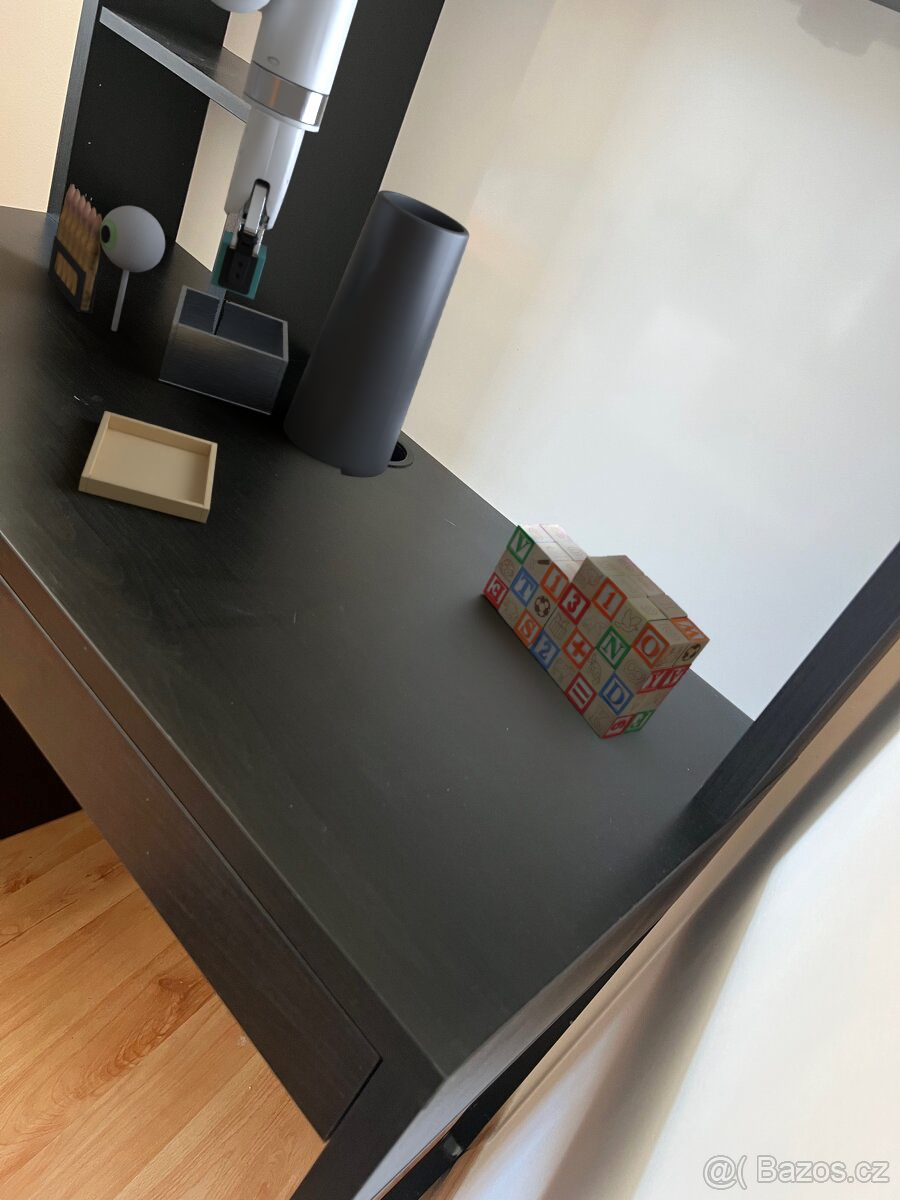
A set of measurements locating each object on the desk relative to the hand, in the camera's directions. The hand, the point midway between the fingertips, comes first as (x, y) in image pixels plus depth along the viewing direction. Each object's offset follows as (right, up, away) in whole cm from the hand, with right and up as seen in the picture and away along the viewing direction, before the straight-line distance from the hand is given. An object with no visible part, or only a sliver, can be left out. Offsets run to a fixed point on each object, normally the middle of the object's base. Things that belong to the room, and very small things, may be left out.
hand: (234, 280), depth 90 cm
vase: (+9, -15, +15) cm, 23 cm away
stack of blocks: (+34, -40, -3) cm, 52 cm away
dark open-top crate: (-6, -7, +16) cm, 18 cm away
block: (0, 0, 0) cm, 1 cm away
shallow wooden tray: (-6, -22, -7) cm, 24 cm away
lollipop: (-19, -1, +15) cm, 24 cm away
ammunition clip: (-26, +5, +18) cm, 32 cm away
